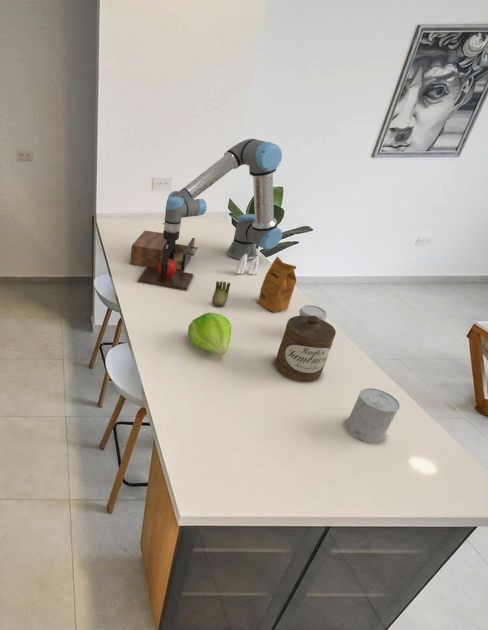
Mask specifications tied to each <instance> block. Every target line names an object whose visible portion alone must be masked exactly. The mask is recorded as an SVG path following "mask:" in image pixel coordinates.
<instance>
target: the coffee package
mask: <svg viewBox="0 0 488 630" xmlns="http://www.w3.org/2000/svg"><path fill="white" fill-rule="evenodd" d="M296 269H297V266H295V265H293V264H289V263H286V262H283V261H282V259H281V258H280V257H279V256H276V258H274V260H273V262H272V263H271V265H270V267H269V268H268V270H267V272H266V273H265V276H264V279H263V282H262V284H261V287H260V290H259V291H260V293H259V296H258V300H257V303H258V304H260V305H262V307H263V308H264V309H265V310H267V311H270V312H271V313H278V312H280V311H281V312H282V311H286V310H288V309H289V306H290V303H291V299H292V296H293V293H294V291H295V286H296V283H297V276H296V273H295V270H296Z"/></svg>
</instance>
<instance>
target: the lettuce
mask: <svg viewBox="0 0 488 630" xmlns="http://www.w3.org/2000/svg"><path fill="white" fill-rule="evenodd" d="M187 335H188V338H189V340H190V342H192V343H193V344H194V345H195V346H197V348H199V349H201V350H204V351H207V352H209V353H214V354H217V355H222V356H223V355H225V354H226V353H227V351H228V350H229V346H230V345H229V344H230V341H231V338H232V337H231V336H232V324H231V323H230V321H229V319H228V318H227V317H226V316H224V315H222V314H219V313H215V312H206V313H203V314H201V315H200V316H198V317H195V318H194V319H192V320H191V322H190V323H189V325H188V330H187Z"/></svg>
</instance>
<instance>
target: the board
mask: <svg viewBox="0 0 488 630" xmlns="http://www.w3.org/2000/svg"><path fill="white" fill-rule="evenodd" d="M193 278H194V273H191V272H187V271H184V272H182V271H181V270H176V272H175V273H174V275H172V276H171V277H169V278H163V277H162V276H161V275H160V274H159V272H158V268H156V267H150V266H147V267H145V269H144V270H143V272H142V273H141V275H140V276H139V277H138V279H137V282H138V283H142V284H148V285H153V286H156V287H157V286H159V287H163V288H169V289H174V290H178V291H179V290H180V291H185V292H187V291H188V289H189V286H190V284H191V282H192V279H193Z"/></svg>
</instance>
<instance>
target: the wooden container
mask: <svg viewBox="0 0 488 630" xmlns="http://www.w3.org/2000/svg"><path fill="white" fill-rule="evenodd" d="M335 337H336V329H335V327H334V326H333V325H332V324H330V323H329V322H327V321H325V320H324V321H323V320H321V319H319V318H318V317H316V316H299V315H295V316H292V317H290V318H289V319H288V320H287V323H286V325H285V330H284V332H283V336H282V339H281V341H280V344H279V347H278V350H277V355H276V357H275V361H274V367H275V368H276V370H277V371H278V372H279V374H281V375H282V376H283V377H286V378H287V379H290V380H293V381H297V382H300V383H301V382H302V383H311V382H315V381H317V380H319V379H320V377H321V375H322V372H323V370H324V368H325V365H326V363H327V360H328V357H329V354H330V351H331V348H332V346H333V342H334V339H335Z"/></svg>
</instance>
